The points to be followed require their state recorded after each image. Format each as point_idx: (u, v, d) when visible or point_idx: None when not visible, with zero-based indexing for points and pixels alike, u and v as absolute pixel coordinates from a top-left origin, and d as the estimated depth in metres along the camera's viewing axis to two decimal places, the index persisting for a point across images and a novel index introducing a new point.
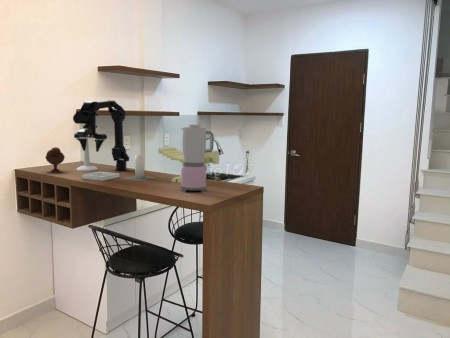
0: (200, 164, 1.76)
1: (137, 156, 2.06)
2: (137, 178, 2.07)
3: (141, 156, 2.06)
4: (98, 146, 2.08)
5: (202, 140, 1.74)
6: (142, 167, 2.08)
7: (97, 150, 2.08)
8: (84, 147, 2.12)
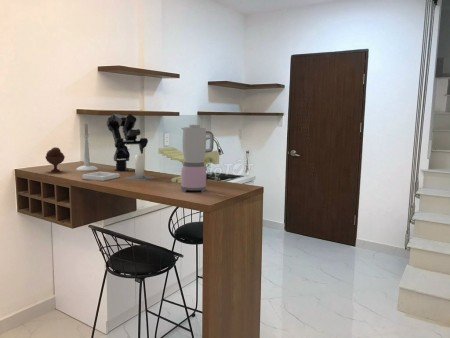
0: (200, 164, 1.76)
1: (137, 156, 2.06)
2: (137, 178, 2.07)
3: (141, 156, 2.06)
4: None
5: (202, 140, 1.74)
6: (142, 167, 2.08)
7: (142, 152, 2.18)
8: None
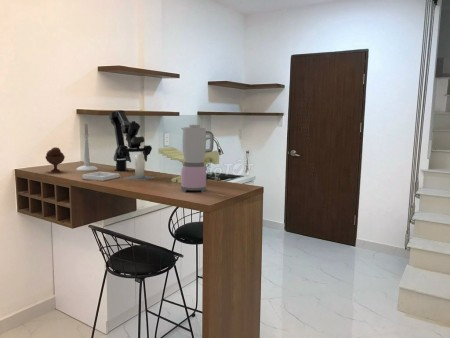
0: (200, 164, 1.76)
1: (137, 156, 2.06)
2: (137, 178, 2.07)
3: (141, 156, 2.06)
4: None
5: (202, 140, 1.74)
6: (142, 167, 2.08)
7: (146, 159, 2.13)
8: None
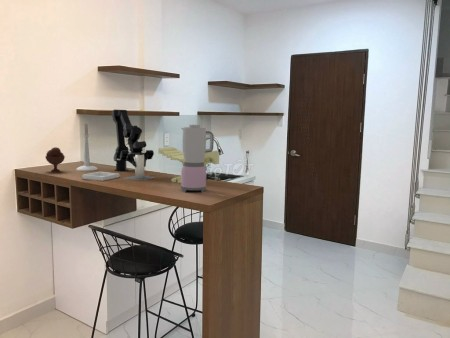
0: (200, 164, 1.76)
1: (137, 156, 2.06)
2: (137, 178, 2.07)
3: (141, 156, 2.06)
4: None
5: (202, 140, 1.74)
6: (142, 167, 2.08)
7: (145, 164, 2.10)
8: None
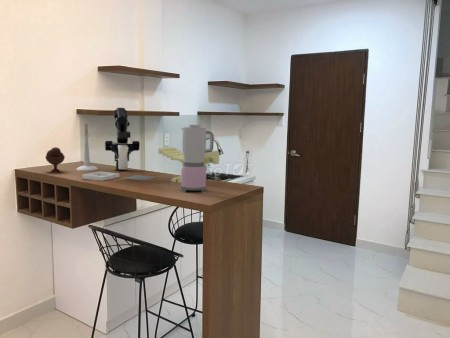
0: (200, 164, 1.76)
1: (119, 146, 2.02)
2: (137, 178, 2.07)
3: (123, 146, 2.02)
4: (129, 152, 2.06)
5: (202, 140, 1.74)
6: (124, 158, 2.03)
7: (128, 155, 2.05)
8: None
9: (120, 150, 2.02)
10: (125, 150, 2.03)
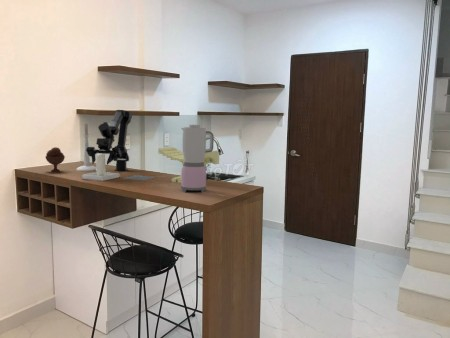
0: (200, 164, 1.76)
1: (95, 155, 2.03)
2: (137, 178, 2.07)
3: (98, 156, 2.02)
4: (110, 159, 2.05)
5: (202, 140, 1.74)
6: (100, 167, 2.03)
7: (108, 162, 2.04)
8: (93, 160, 2.05)
9: (96, 159, 2.03)
10: (101, 159, 2.02)
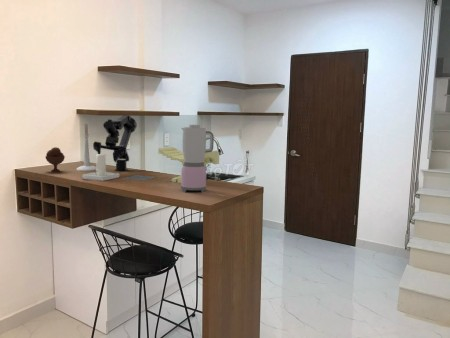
0: (200, 164, 1.76)
1: (96, 155, 2.03)
2: (137, 178, 2.07)
3: (99, 156, 2.02)
4: (117, 157, 2.17)
5: (202, 140, 1.74)
6: (100, 167, 2.03)
7: (115, 160, 2.16)
8: None
9: (97, 159, 2.03)
10: (101, 159, 2.03)
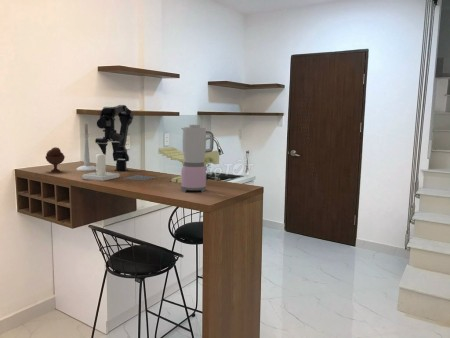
0: (200, 164, 1.76)
1: (96, 155, 2.03)
2: (137, 178, 2.07)
3: (99, 156, 2.02)
4: None
5: (202, 140, 1.74)
6: (100, 167, 2.03)
7: (115, 152, 2.25)
8: None
9: (96, 159, 2.03)
10: (101, 159, 2.03)
